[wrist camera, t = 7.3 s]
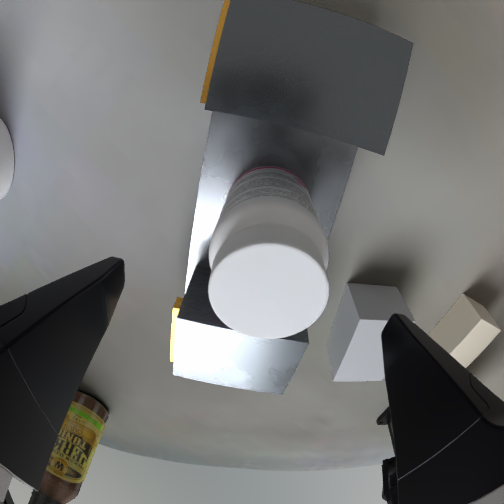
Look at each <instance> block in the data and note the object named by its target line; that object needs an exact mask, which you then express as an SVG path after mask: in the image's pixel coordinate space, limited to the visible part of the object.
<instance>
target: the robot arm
mask: <svg viewBox="0 0 504 504" xmlns="http://www.w3.org/2000/svg"><path fill="white" fill-rule="evenodd" d="M124 283H125V272H124V261H123V259H121V258H117V257H109V258H107V259H104V260H102V261H100V262H97V263H95V264H92V265H90V266H88V267H85V268H83V269H81V270H79V271H76V272H74V273H72V274H69V275H67V276H65V277H63V278H60V279H58V280H56V281H54V282H51V283H49V284H47V285H45V286H42V287H40V288H38V289H36V290H34V291H32V292H29V293H28V295H27V294H25V295H23V296H21V297H19V298H17V299H14V300H12V301H10V302H8V303H6V304H3V305H1V306H0V504H14V502H13V500H12V498H11V495H10V493H9V490H8V488H9V485H10V482H11V480H12V477H14V478H16V479H18V480H19V481H21V482H22V483H24V484H26V485H27V486H29V487H31V488H33V489H34V490H36V491H39V489H40V486H41V483H42V480H43V477H44V474H45V471H46V468H47V465H48V462H49V459H50V457H51V454H52V451H53V448H54V446H55V443H56V441H57V438H58V434H59V432H60V430H61V427H62V425H63V422H64V420H65V418H66V415H67V413H68V410H69V408H70V406H71V403H72V401H73V399H74V396H75V394H76V392H77V390H78V387H79V385H80V383H81V381H82V379H83V377H84V374H85V372H86V370H87V368H88V366H89V364H90V362H91V360H92V358H93V356H94V353H95V351H96V349H97V347H98V345H99V343H100V341H101V339H102V337H103V335H104V334H105V332H106V330H107V327H108V325H109V323H110V321H111V318H112V315H113V313H114V310H115V308H116V305H117V302H118V300H119V297H120V295H121V292H122V290H123V287H124ZM381 341H382V352H383V364H384V374H385V381H386V387H387V393H388V399H389V406H390V407H389V408H388V409H387V410H386V411H385V412H384V413H383V414H382V416H381V417H380V418H379V419H378V420H377V424H378V425H386V424H388V428H389V432H390V436H391V440H392V445H393V449H394V453H395V457H392V458H390V459H385V460H383V465H382V473H383V491H382V498H383V499H384V500H386V501H387V503H388V504H504V402H503V401H502V400H501V399H500V398H499V397H497V396H496V395H495V394H494V393H493V392H491V391H490V390H489V389H488V388H487V387H486V386H484V385H483V384H482V383H481V382H480V381H479V380H478V379H477V378H476V377H474V376H473V375H472V374H471V373H470V372H469V371H468V370H467V369H466V368H465V367H463V366H462V365H461V364H460V363H459V362H458V361H457V360H456V359H455V358H454V357H452V356H451V355H450V354H449V353H448V352H447V351H446V350H445V349H443V348H442V347H441V346H440V345H439V344H438V343H437V342H435V341H434V340H433V339H432V338H431V337H430V336H429V335H427V334H426V333H425V332H424V331H423V330H422V329H420V328H419V327H418V326H417V325H416V324H415V323H413V322H412V321H411V320H410V319H409V318H408V317H406V316H405V315H403V314H398V313H394V314H392V315H391V317H390V318H389V320H388V322H387V323H386V325H385V327H384V328H383V330H382V333H381Z"/></svg>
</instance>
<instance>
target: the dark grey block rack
mask: <svg viewBox="0 0 504 504" xmlns="http://www.w3.org/2000/svg"><path fill="white" fill-rule="evenodd" d="M412 47H413V43H412V42H410V41H408V40H406V39H404V38H401V37H399V36H397V35H395V34H393V33H390V32H388V31H386V30H383V29H381V28H379V27H376V26H374V25H371V24H368V23H366V22H363V21H361V20H358V19H355V18H352V17H349V16H346V15H343V14H340V13H337V12H334V11H331V10H328V9H324V8H321V7H317V6H314V5H310V4H306V3H302V2H298V1H294V0H230V1H229V0H225V1H224V4H223V8H222V11H221V15H220V19H219V23H218V27H217V30H216V34H215V38H214V42H213V47H212V51H211V55H210V59H209V64H208V68H207V73H206V77H205V82H204V86H203V91H202V96H201V101H200V103H206V105H205V110H210V111H213V113H212V118H211V123H210V128H209V133H208V138H207V144H206V149H205V155H204V160H203V166H202V172H201V178H200V184H199V190H198V197H197V203H196V210H195V217H194V224H193V231H192V238H191V246H190V254H189V262H188V270H187V279H186V288H185V296H184V298H180V297H177V299H176V302H175V304H174V307H173V315H172V332H171V353H170V361H173V362H174V364H173V375H177V376H181V377H185V378H190V379H194V380H199V381H203V382H208V383H213V384H218V385H224V386H229V387H235V388H241V389H247V390H253V391H260V392H267V393H274V394H282V395H283V393H284V391H285V389H286V387H287V385H288V383H289V381H290V380H291V378H292V376H293V374H294V372H295V370H296V368H297V366H298V364H299V362H300V360H301V358H302V356H303V354H304V352H305V350H306V348H307V346H308V344H309V340H308V332H307V328H306V329H304V330H303V331H301V332H298V333H296V334H294V335H291V336H288V337H283V338H277V339H260V338H253V337H249V336H246V335H243V334H241V333H239V332H236V331H234V330H233V329H231V328H229V327H228V326H227V325H226V324H224V323H223V322H222V321H221V320H220V318H219V317H218V316H217V315H216V313H215V312H214V310H213V308H212V306H211V303H210V300H209V294H208V285H209V279H210V274H211V267H210V263H209V246H210V241H211V237H212V234H213V231H214V229H215V226H216V224H217V222H218V219H219V217H220V214H221V211H222V209H223V206H224V203H225V201H226V198H227V195H228V193H229V190H230V188H231V187H232V185H233V183H234V182H235V181H236V180H237V179H238V178H239V177H240V176H241V175H242V174H244V173H245V172H247V171H249V170H251V169H254V168H257V167H263V166H275V167H280V168H283V169H286V170H288V171H290V172H292V173H293V174H295V175H296V176H297V177H298V178H299V179H300V180H301V181H302V182H303V183H304V185H305V186H306V188H307V190H308V192H309V194H310V197H311V200H312V203H313V205H314V208H315V210H316V213H317V215H318V218H319V220H320V223H321V225H322V228H323V230H324V233H325V236H326V239H328V236H329V233H330V231H331V228H332V225H333V222H334V219H335V216H336V213H337V210H338V207H339V204H340V202H341V198H342V195H343V192H344V189H345V186H346V183H347V180H348V177H349V174H350V171H351V167H352V164H353V161H354V158H355V154H356V151H357V148H358V147H360V148H363V149H366V150H369V151H372V152H375V153H378V154H381V155H384V154H385V151H386V148H387V144H388V141H389V138H390V134H391V131H392V128H393V124H394V121H395V117H396V113H397V110H398V106H399V102H400V98H401V94H402V91H403V86H404V82H405V78H406V74H407V70H408V65H409V61H410V56H411V51H412Z"/></svg>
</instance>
